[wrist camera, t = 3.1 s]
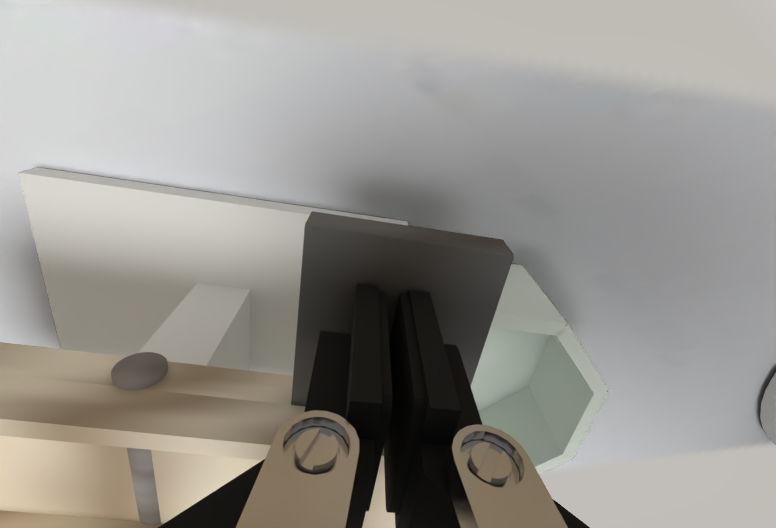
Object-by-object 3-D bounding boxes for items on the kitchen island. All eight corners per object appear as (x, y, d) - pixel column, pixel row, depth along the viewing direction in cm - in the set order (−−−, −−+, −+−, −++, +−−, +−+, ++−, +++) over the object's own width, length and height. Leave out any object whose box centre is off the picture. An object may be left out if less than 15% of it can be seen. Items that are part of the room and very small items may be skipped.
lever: (517, 238, 11) (570, 301, 8) (423, 521, 16) (433, 623, 13) (-327, 111, 9) (-682, 129, 6) (-114, 476, 14) (-244, 581, 11)
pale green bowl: (579, 273, 20) (640, 332, 15) (518, 419, 24) (551, 499, 19) (378, 245, 19) (380, 299, 14) (352, 403, 23) (347, 483, 18)
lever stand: (407, 221, 18) (423, 296, 12) (367, 422, 24) (365, 543, 18) (37, 167, 17) (-160, 221, 10) (87, 395, 22) (-23, 518, 16)
